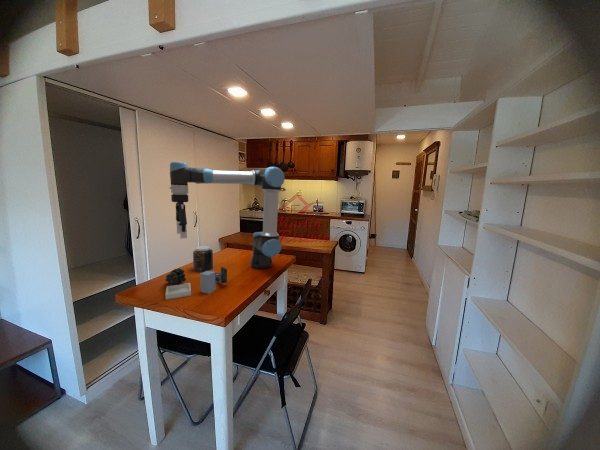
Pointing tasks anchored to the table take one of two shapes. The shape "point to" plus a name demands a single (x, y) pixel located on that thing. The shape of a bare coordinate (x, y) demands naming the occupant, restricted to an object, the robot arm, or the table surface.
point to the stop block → (207, 281)
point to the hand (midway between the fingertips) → (181, 235)
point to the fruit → (176, 277)
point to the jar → (203, 259)
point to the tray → (178, 291)
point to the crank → (222, 275)
